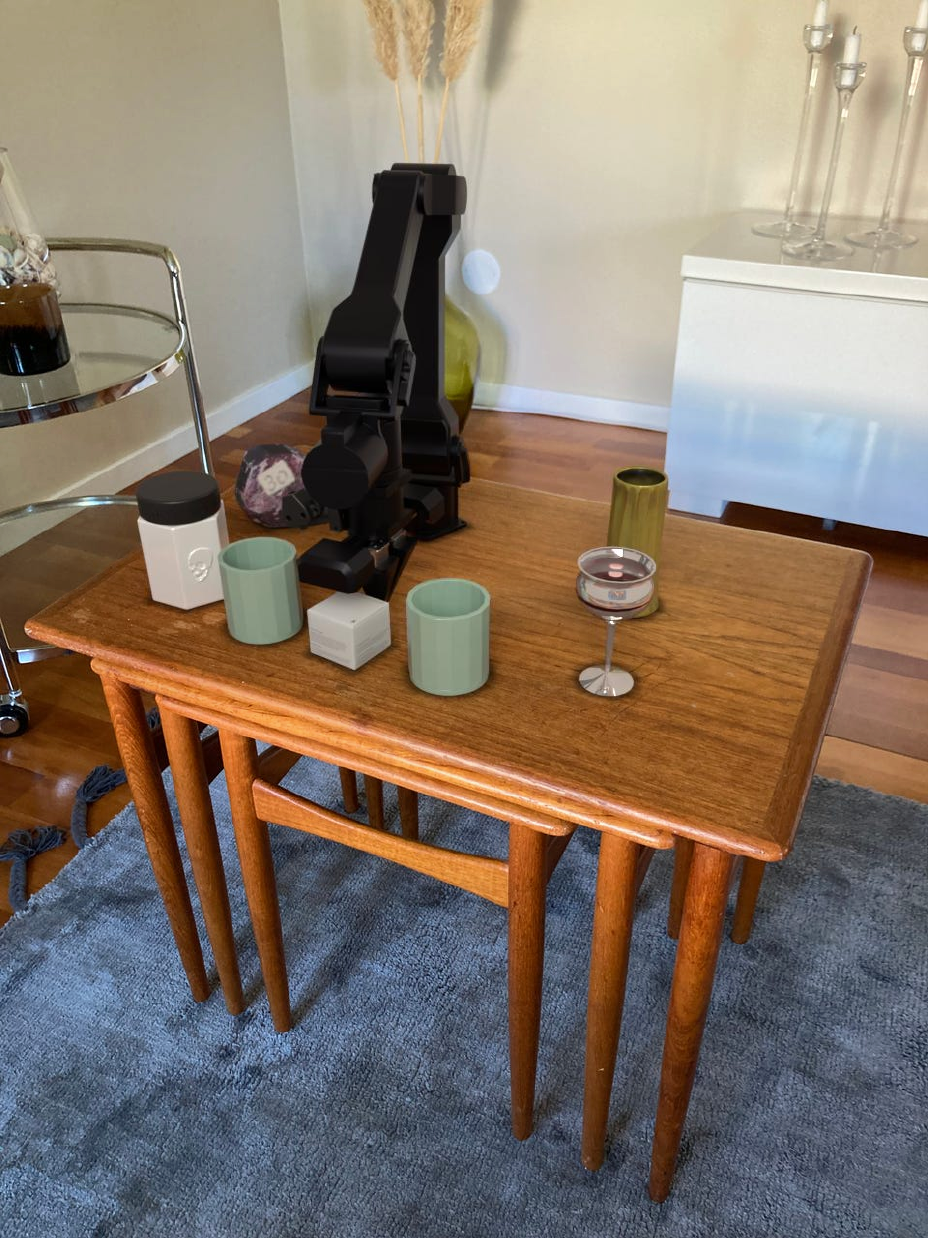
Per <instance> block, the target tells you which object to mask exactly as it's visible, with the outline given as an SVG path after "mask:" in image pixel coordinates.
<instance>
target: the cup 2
mask: <svg viewBox="0 0 928 1238" xmlns="http://www.w3.org/2000/svg"><path fill="white" fill-rule="evenodd" d="M491 598H492V597H491V594H490V593H489V591H488V590H487V588H486V587H485V586H483V585H481V584H479V583H477V582H476V581H472V580H468V579H464V578H460V577H459V578H457V577H441V578H435V579H429V580H426V581H424V582H421V583H419V584H416V585H415V586H414V587H413V588H411V589H409V591H408V592H407V595H406V598H405V613H406V614H405V616H406V619H405V620H406V643H407V668H408V674H409V679H410V680H411V682H412V683H413V685H414V686H415V687H416V688H418V689H419V690H421V691H423V692H425V693H428V694H431V695H435V696H436V695H437V696H444V697H445V696H446V697H455V696H461V695H466V694H469V693H472V692H475V691H476V690H478V689H480V688H481V687H483V686H484V684H486V682H487V681H488V679H489V677H490V666H491V655H490V654H491V603H492V602H491V600H492V599H491Z"/></svg>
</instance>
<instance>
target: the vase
mask: <svg viewBox="0 0 928 1238" xmlns="http://www.w3.org/2000/svg"><path fill="white" fill-rule="evenodd" d="M612 477H613V478H612V490H611V501H610V510H609V520H608V521H609V523H608V529H607V536H606V537H607V538H606V547H625V548H629V549H634V550H637V551H639V552H642V553H644V554H646V555H648V556H649V557H650V558H652V559H653V561H654V562H655V564H656V571H655V573H654V574H653V575H652V577H653V579H654V594H653V597H652V600H651V601H650V603H649V605H648V606H647V608H646V609H645V610H644V611H642V612H641V613H639V614H638V615H636V616H634V617H633V618H632V619H638V618H644V617H647V616H649V615H651V614H653V613H655V612H656V611H657V610H658V607H659V581H660V579H659V578H660V563H661V562H660V561H661V550H662V542H663V541H662V540H663V532H664V524H665V515H666V508H667V499H668V491H669V476H668V474H667V473H666V472H665V471H663V470H661V469H658V468H655V467H652V466H645V465H633V466H625V467H621V468H619V469H617V470H615V472H614V473H613V475H612Z"/></svg>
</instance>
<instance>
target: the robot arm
mask: <svg viewBox="0 0 928 1238" xmlns="http://www.w3.org/2000/svg"><path fill="white" fill-rule="evenodd" d="M371 184H372V186H371V199H372V208H371V212H370V216H369V220H368V225H367V228H366V233H365V237H364V241H363V244H362V245H363V246H362V249H361V253H360V256H359V257H360V258H359V262H358V266H357V270H356V275H355V279H354V282H353V286H352V289H351V292H350V295H348V296H347V297H346V298H345V299H344V300H342V301H341V302H340V303H339V304H337V305H336V306H335V307H334V308H333V309H332V311H331V313H330V315H329V318H328V321H327V325H326V327H325V330H324V332H323V335H321V336H320V337H319V339H318V342H317V347H316V353H315V360H314V366H313V367H314V368H313V374H312V375H313V376H312V383H311V391H310V397H309V398H310V399H309V407H308V415H309V416H315V417H316V416H317V417H325V418H326V424H324V426H323V427H322V428H321V429H320V439H319V440H318V441H317V442H316V444H315V445H314V446H313V447H312V448H311V449H309V451H308V452H307V454H306V457H305V459H304V461H303V465H302V469H301V477H302V481H303V485H304V488H303V489H300V490H298V491H297V492H295V491H294V490H293V491H290V492H289V493H287V494H286V495H284V496H283V497H282V513H283V514H282V516H283V518H284V519H285V521H286V523H287V525H289V526H290V527H289V528H293V529H295V528H298V530H299V531H304V530H308V528H311V527H315V526H320V525H326V524H328V525H329V531H331V532H337V533H342V532H343V531H344V532H347V536H345V538H343V539H342V540H341V541H340V540H335V539H331V538H327V537H322V538H321V539H319V541H317V542H316V543H315V544H313V545H312V546H310V548H309V549H307V550H305V551H304V552H303V553H302V554H301V555H300V556H299V557H297V560H296V567H297V577H298V580H299V582H300V584H304V585H309V586H314V587H317V588H322V589H325V590H330V591H334V592H342V593H346V594H351V593H356V592H359V591H361V589H362V590H363V593H364V594H365V595H367V596H370V597H373V598H376V599H379V600H382V601H385V602H388V603H389V604H390V600H391V598H392V596H393V594H394V591H395V589H396V588H397V586H398V583H399V581H400V578H401V576H402V574H403V573H404V570H405V568H406V566H407V564H408V562H409V560H410V558H411V556H412V554H413V552H414V550H415V548H416V547H417V546H418V544H419V539H421V540H422V541H425V542H428V541H431V540H435V539H437V538H440V537H443V536H444V535H447V534H450V533H453V532H456V531H458V530H461V529H464V528H466V527H467V526H468V522H467V521H466V520H464V519H462V518H460V517H459V488H461V487H462V485H465V484H467V483H470V482H471V461H470V455H469V451H468V448H467V446H466V443H465V440H464V437H463V436H462V435H460V423H459V422H460V421H459V415H458V414H457V412H456V411H455V409H454V407H453V405H452V404H451V403H450V401H449V399H448V398H447V396H446V386H445V385H446V384H445V383H446V381H445V379H446V378H445V377H446V375H445V373H446V257H447V254H448V252H449V251H450V249H451V247H452V245H453V243H454V241H455V240H456V238H457V236H458V234H459V233H460V231H461V228H462V215H465V213H466V209H467V203H468V185H467V184H468V183H467V179H466V177H465V176H464V175H458V174H457V169H456V167H455V165H454V164H453V163H432V162H431V163H429V162H426V163H425V162H424V163H422V162H394V163H392V164H391V168H390V169H383V170H382V171H381V172H376V173H373V179H372V183H371ZM329 387H330V388H331V389H332V390H333V391H334V392H345V393H346V392H347V393H356V394H355V395H347V394H331V393H328V391H329ZM406 532H408V533H410V534H412V535H413V536H412V535H407V533H406Z"/></svg>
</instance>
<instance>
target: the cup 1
mask: <svg viewBox="0 0 928 1238" xmlns="http://www.w3.org/2000/svg"><path fill="white" fill-rule="evenodd" d="M217 558H218V565H219V571H220V578H221V584H222V591H223V598H224V599H223V605H224V610H225V617H226V624H227V629H228V633H229V635H230V636H231V637H232V638H233V639H234V640H236V641H238V642H241V643H244V644H248V645H270V644H276V643H279V642H282V641H286V640H288V639H291V638H292V637H294V636H295V635H296V634H298V633H299V632H300V631H301V629H302V627H303V626H304V607H303V600H302V590H301V582H299V580H298V577H297V567H296V560H297V559H298V552H297V549H296V546H295V545H294V544H293V543H292V542H290V541H288V540H287V539H283V538H279V537H275V536H255V537H247V538H243V539H239V540H237V541H234V542H231V543H229V545H228V546H226V547H225V548H223V549H222V550H221V551H220V553H219V554H218V556H217Z"/></svg>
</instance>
